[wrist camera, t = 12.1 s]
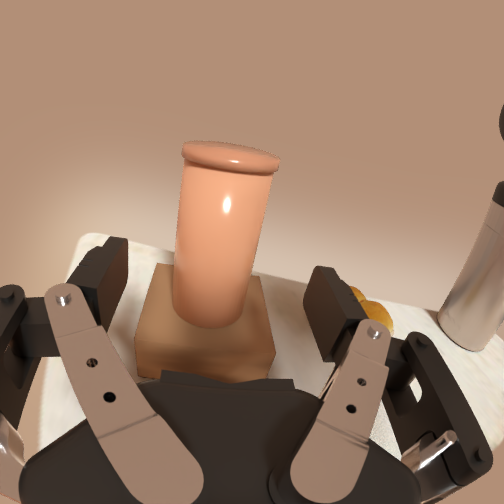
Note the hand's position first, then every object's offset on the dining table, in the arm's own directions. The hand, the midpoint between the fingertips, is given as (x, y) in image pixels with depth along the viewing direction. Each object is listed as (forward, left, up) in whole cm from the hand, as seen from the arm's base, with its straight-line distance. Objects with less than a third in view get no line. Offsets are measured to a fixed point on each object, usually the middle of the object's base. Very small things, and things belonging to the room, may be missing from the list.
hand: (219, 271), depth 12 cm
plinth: (0, -7, -11) cm, 13 cm away
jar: (0, -7, -7) cm, 10 cm away
